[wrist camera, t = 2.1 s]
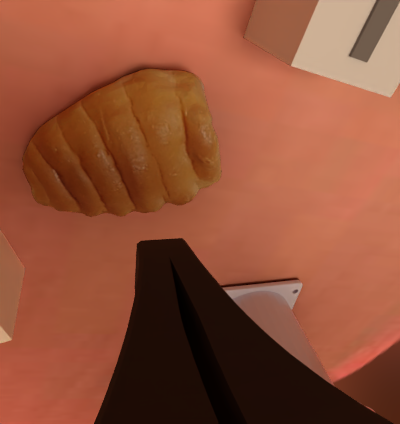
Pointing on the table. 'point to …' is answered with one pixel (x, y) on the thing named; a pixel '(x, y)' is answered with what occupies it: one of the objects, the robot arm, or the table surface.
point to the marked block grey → (333, 39)
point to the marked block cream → (9, 288)
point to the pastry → (127, 147)
